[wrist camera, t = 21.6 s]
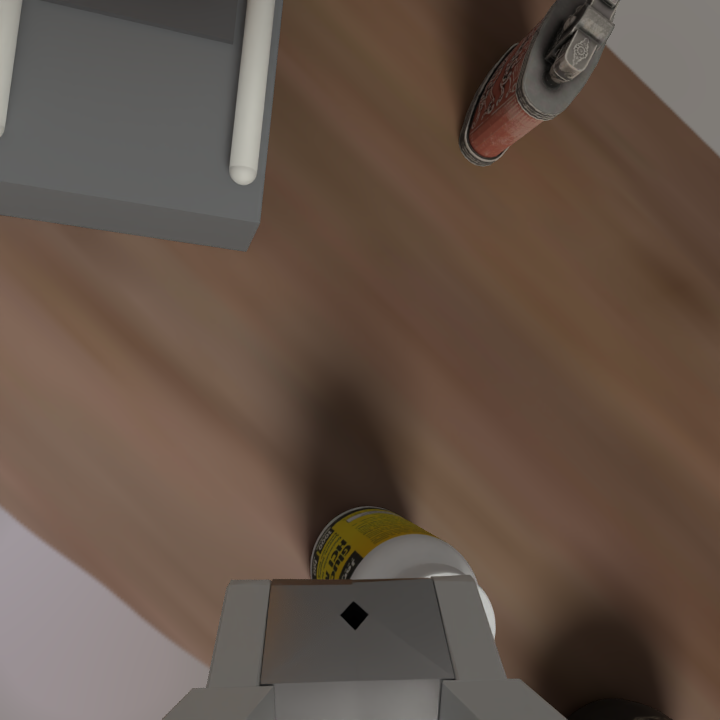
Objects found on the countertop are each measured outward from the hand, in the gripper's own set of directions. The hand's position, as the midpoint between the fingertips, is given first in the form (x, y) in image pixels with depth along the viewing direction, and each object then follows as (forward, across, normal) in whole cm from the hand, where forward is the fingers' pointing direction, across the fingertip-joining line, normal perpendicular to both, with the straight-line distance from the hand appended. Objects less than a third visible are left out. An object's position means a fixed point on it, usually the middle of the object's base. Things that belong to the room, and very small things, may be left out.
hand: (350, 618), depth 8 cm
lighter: (+35, +10, +6) cm, 37 cm away
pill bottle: (+23, +2, -17) cm, 29 cm away
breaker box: (+32, -9, +9) cm, 34 cm away
